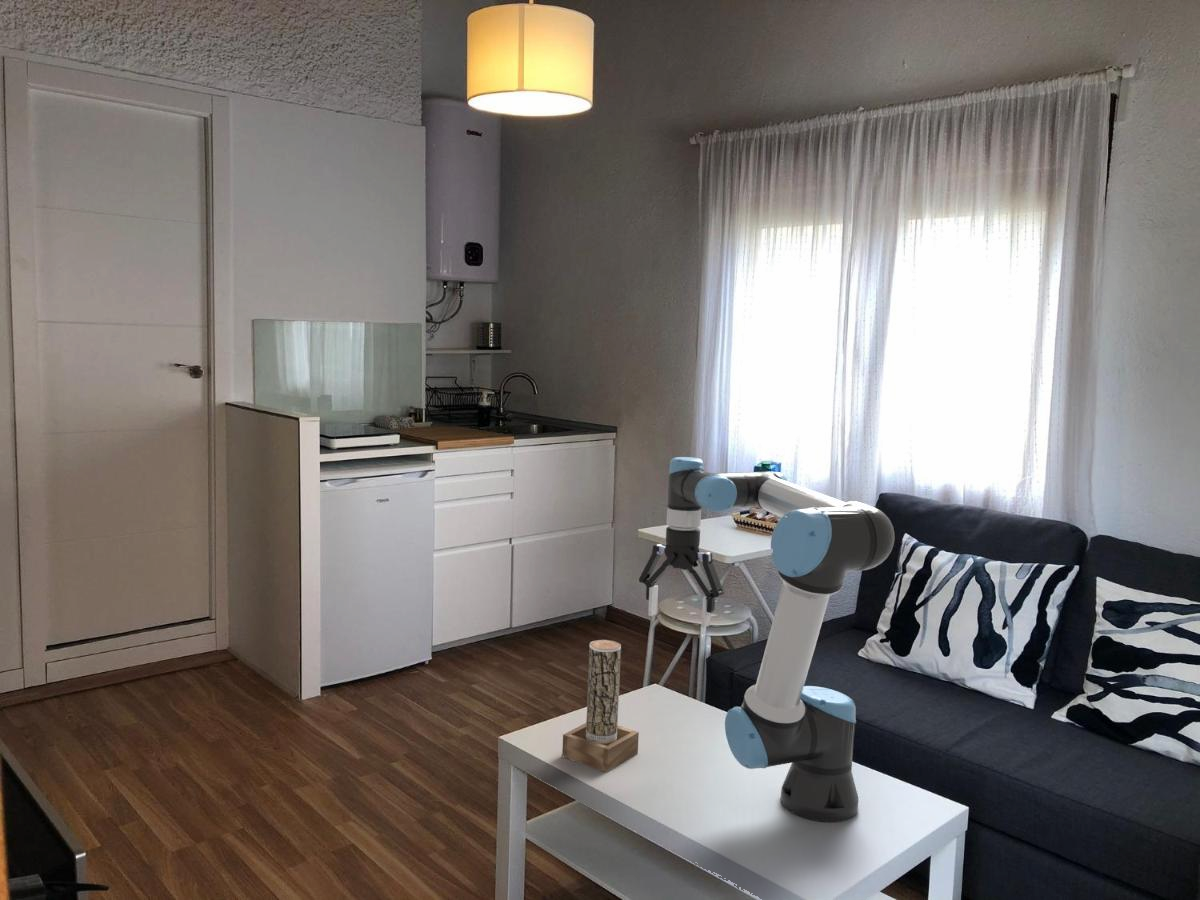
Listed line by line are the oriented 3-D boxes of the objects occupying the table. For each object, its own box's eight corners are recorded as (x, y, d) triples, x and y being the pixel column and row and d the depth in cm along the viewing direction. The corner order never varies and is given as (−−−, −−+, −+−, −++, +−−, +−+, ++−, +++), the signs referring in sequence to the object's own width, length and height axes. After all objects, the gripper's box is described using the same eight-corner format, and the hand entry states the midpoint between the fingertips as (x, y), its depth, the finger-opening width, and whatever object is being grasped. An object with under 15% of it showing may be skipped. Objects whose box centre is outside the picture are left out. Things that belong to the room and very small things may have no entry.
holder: (637, 753, 222) (638, 732, 221) (607, 772, 212) (608, 749, 212) (593, 739, 229) (594, 718, 228) (562, 756, 219) (563, 734, 218)
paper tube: (612, 763, 216) (617, 651, 213) (582, 759, 218) (586, 647, 215) (618, 751, 223) (623, 641, 220) (588, 747, 224) (593, 638, 221)
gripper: (741, 532, 219) (736, 627, 222) (643, 517, 233) (639, 606, 235) (726, 537, 213) (721, 635, 216) (626, 521, 227) (622, 613, 229)
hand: (678, 620), depth 226 cm, fingers open, 13 cm apart
